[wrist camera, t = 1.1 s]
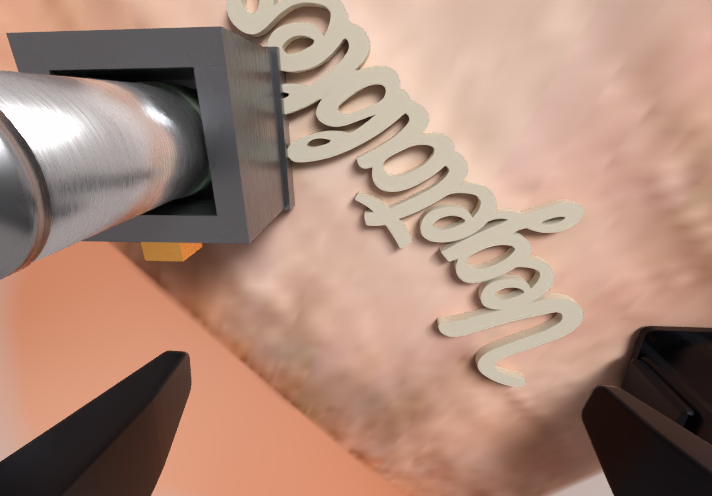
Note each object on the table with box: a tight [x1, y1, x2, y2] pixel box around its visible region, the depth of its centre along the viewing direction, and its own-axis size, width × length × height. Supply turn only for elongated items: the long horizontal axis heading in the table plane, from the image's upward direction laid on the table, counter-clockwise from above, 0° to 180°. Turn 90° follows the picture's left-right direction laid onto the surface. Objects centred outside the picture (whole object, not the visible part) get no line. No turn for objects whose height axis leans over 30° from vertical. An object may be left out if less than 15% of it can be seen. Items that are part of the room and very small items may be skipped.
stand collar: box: [6, 27, 295, 261], centre depth 16 cm, size 8×8×6 cm
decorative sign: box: [227, 0, 584, 387], centre depth 19 cm, size 26×1×10 cm
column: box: [0, 70, 212, 279], centre depth 12 cm, size 4×4×12 cm
